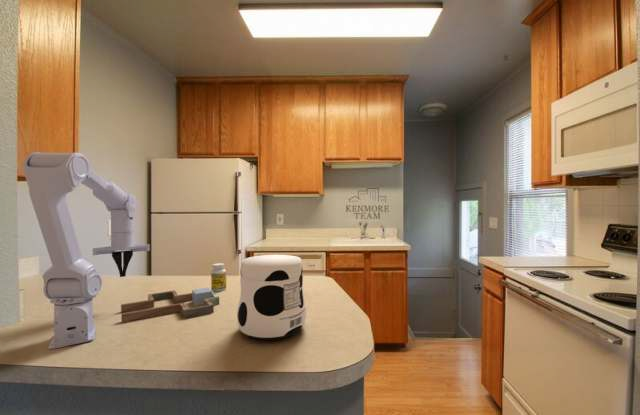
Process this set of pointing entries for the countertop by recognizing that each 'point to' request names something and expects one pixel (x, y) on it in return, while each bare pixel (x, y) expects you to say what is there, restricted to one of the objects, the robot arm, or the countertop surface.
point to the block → (200, 296)
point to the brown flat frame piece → (168, 309)
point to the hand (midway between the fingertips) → (122, 276)
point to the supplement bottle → (218, 277)
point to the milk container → (271, 297)
